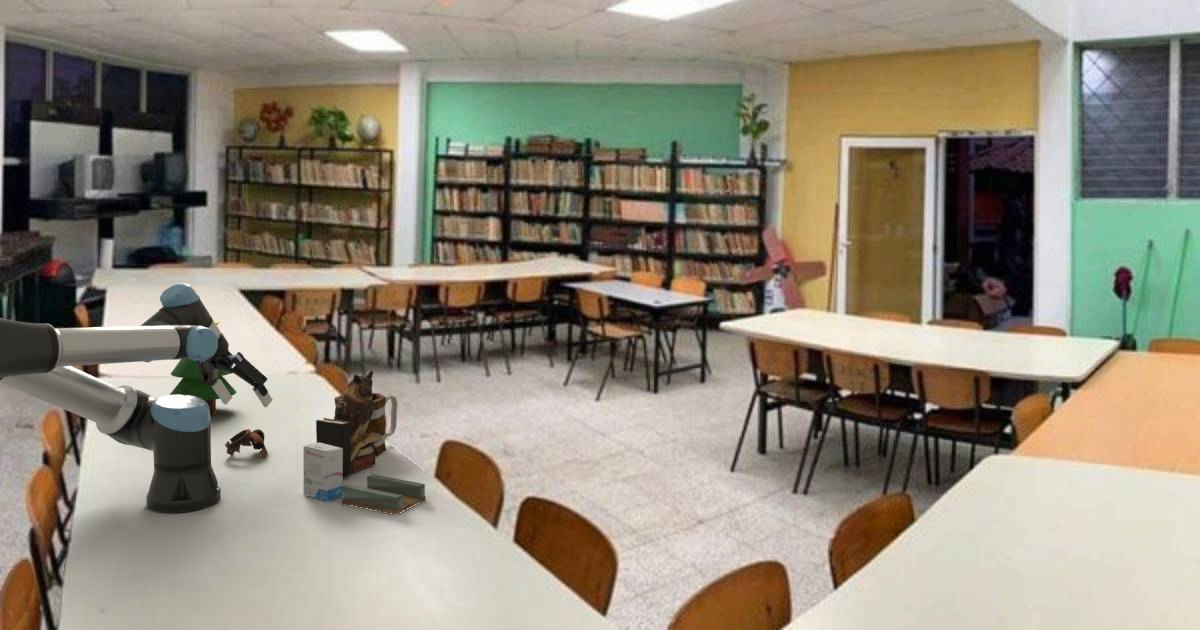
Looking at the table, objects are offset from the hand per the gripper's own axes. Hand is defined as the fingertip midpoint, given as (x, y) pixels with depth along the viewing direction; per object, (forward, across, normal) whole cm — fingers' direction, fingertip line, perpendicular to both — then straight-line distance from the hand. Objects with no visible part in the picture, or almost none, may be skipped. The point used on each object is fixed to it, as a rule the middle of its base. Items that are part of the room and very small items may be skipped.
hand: (248, 402), depth 230 cm
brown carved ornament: (+15, +4, +6) cm, 16 cm away
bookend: (+18, -26, +5) cm, 32 cm away
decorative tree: (+26, +49, -18) cm, 59 cm away
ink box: (+8, -33, +20) cm, 40 cm away
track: (+11, -48, +18) cm, 53 cm away
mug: (+27, -19, -10) cm, 34 cm away
